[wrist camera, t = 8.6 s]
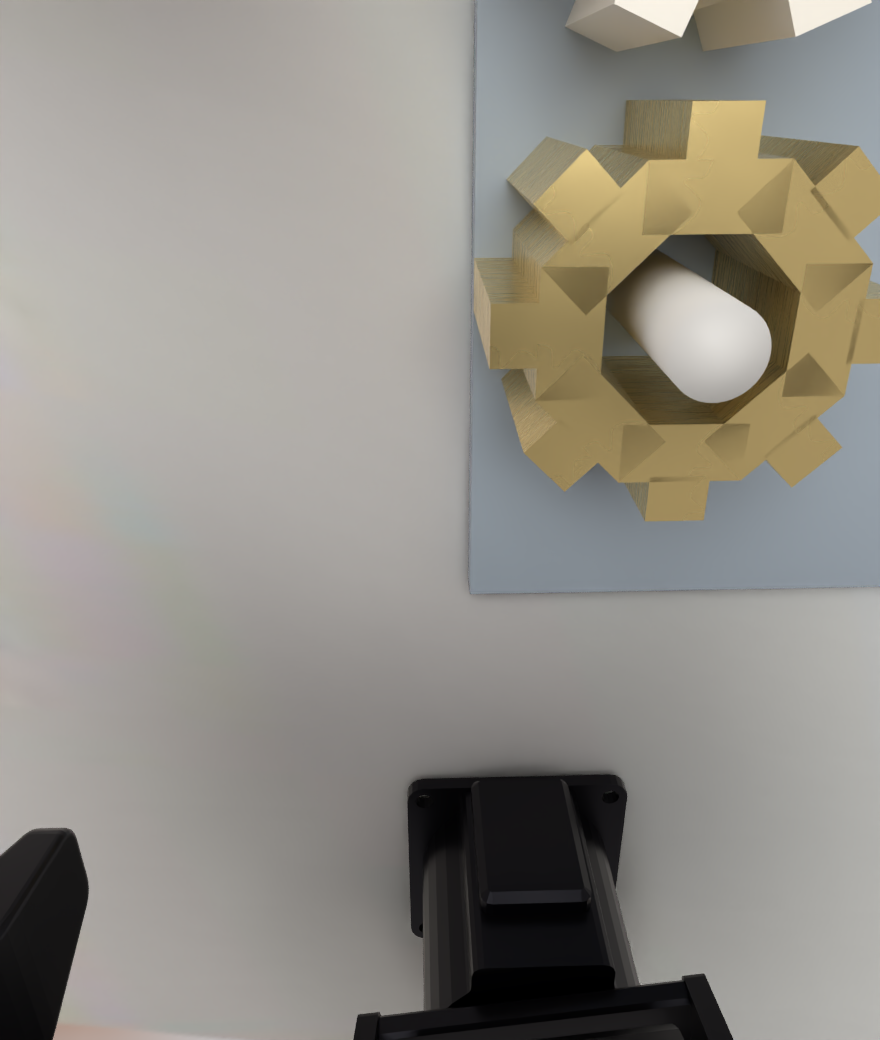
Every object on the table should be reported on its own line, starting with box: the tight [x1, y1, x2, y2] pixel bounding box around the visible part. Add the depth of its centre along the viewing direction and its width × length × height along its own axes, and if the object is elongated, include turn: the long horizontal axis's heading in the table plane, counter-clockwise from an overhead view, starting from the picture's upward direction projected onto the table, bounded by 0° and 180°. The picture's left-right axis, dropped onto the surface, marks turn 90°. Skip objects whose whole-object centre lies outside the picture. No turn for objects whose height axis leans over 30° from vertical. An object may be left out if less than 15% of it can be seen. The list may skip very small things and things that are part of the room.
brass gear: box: [473, 100, 880, 521], centre depth 16 cm, size 7×7×4 cm
